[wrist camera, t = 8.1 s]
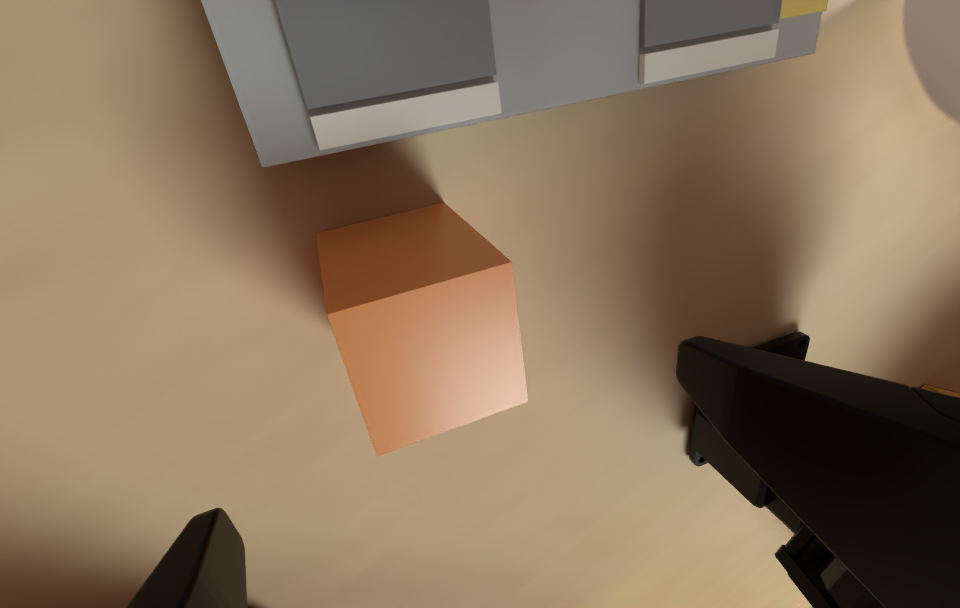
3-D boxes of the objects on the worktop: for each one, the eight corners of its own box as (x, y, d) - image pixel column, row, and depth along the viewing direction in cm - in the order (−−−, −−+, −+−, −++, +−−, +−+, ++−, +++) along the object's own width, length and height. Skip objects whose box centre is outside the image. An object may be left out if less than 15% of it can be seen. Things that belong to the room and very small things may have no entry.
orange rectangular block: (443, 202, 15) (511, 262, 10) (463, 310, 17) (528, 401, 12) (316, 233, 14) (326, 314, 9) (352, 343, 16) (376, 456, 11)
